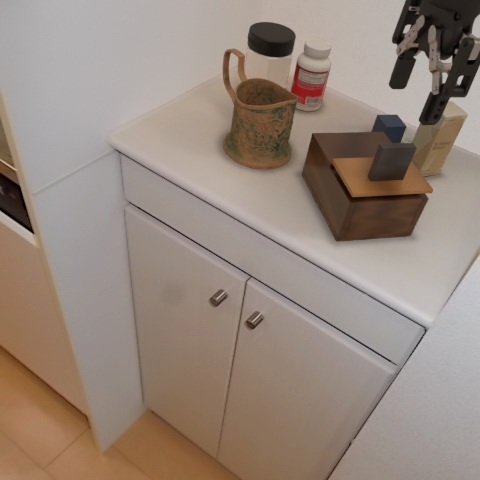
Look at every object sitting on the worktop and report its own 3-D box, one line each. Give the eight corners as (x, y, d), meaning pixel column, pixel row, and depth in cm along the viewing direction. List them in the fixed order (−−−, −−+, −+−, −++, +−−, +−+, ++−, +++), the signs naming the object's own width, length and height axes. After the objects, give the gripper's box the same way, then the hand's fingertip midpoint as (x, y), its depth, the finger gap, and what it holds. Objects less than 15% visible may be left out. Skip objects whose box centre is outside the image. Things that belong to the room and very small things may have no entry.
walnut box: (368, 172, 87) (383, 131, 82) (410, 235, 78) (430, 195, 72) (301, 174, 84) (312, 132, 79) (336, 241, 75) (351, 199, 69)
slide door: (406, 159, 76) (421, 124, 72) (431, 193, 72) (449, 157, 67) (331, 162, 73) (342, 125, 69) (352, 197, 69) (365, 160, 64)
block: (389, 134, 96) (397, 114, 93) (398, 147, 94) (407, 126, 91) (369, 135, 95) (377, 114, 92) (378, 147, 93) (386, 126, 90)
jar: (240, 84, 101) (249, 17, 92) (282, 90, 102) (295, 24, 93) (239, 107, 95) (248, 38, 86) (283, 113, 96) (296, 45, 87)
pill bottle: (299, 92, 102) (312, 32, 94) (326, 104, 100) (342, 44, 92) (282, 103, 98) (294, 42, 90) (310, 116, 97) (325, 55, 88)
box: (416, 178, 88) (443, 116, 79) (401, 164, 90) (426, 102, 82) (440, 174, 90) (469, 113, 81) (425, 160, 92) (452, 99, 84)
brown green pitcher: (246, 108, 96) (256, 39, 87) (305, 159, 87) (323, 89, 78) (192, 119, 91) (196, 48, 82) (248, 175, 82) (260, 102, 73)
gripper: (546, -22, 48) (466, 136, 61) (468, -71, 57) (412, 77, 69) (477, -27, 47) (409, 137, 59) (408, -77, 55) (361, 76, 67)
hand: (410, 104), depth 64 cm, fingers open, 8 cm apart
